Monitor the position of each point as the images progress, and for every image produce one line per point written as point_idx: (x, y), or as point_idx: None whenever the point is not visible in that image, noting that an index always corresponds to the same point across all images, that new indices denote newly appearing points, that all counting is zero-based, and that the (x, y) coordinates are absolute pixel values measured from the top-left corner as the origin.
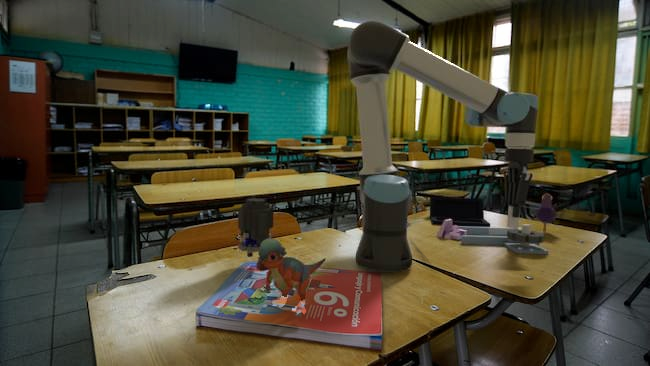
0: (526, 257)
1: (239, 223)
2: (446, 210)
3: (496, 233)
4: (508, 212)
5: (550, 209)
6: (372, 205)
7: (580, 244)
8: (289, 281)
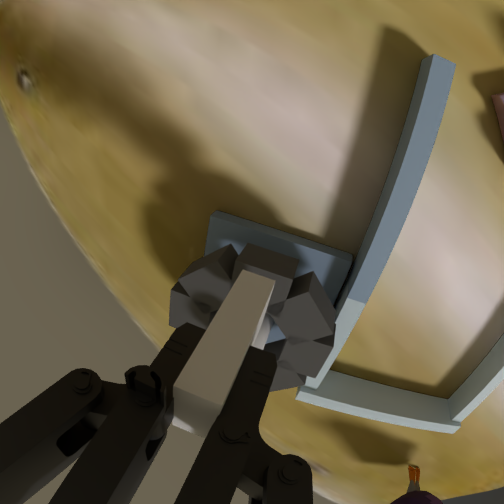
0: (163, 204)
1: None
2: None
3: (489, 358)
4: (239, 352)
5: None
6: None
7: (291, 451)
8: None
